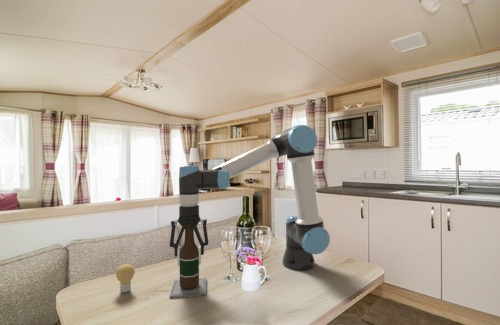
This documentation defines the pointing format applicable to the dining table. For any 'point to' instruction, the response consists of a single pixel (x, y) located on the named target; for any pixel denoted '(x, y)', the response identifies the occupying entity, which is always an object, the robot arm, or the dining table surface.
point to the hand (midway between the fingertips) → (189, 263)
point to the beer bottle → (189, 261)
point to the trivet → (188, 290)
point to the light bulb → (125, 277)
